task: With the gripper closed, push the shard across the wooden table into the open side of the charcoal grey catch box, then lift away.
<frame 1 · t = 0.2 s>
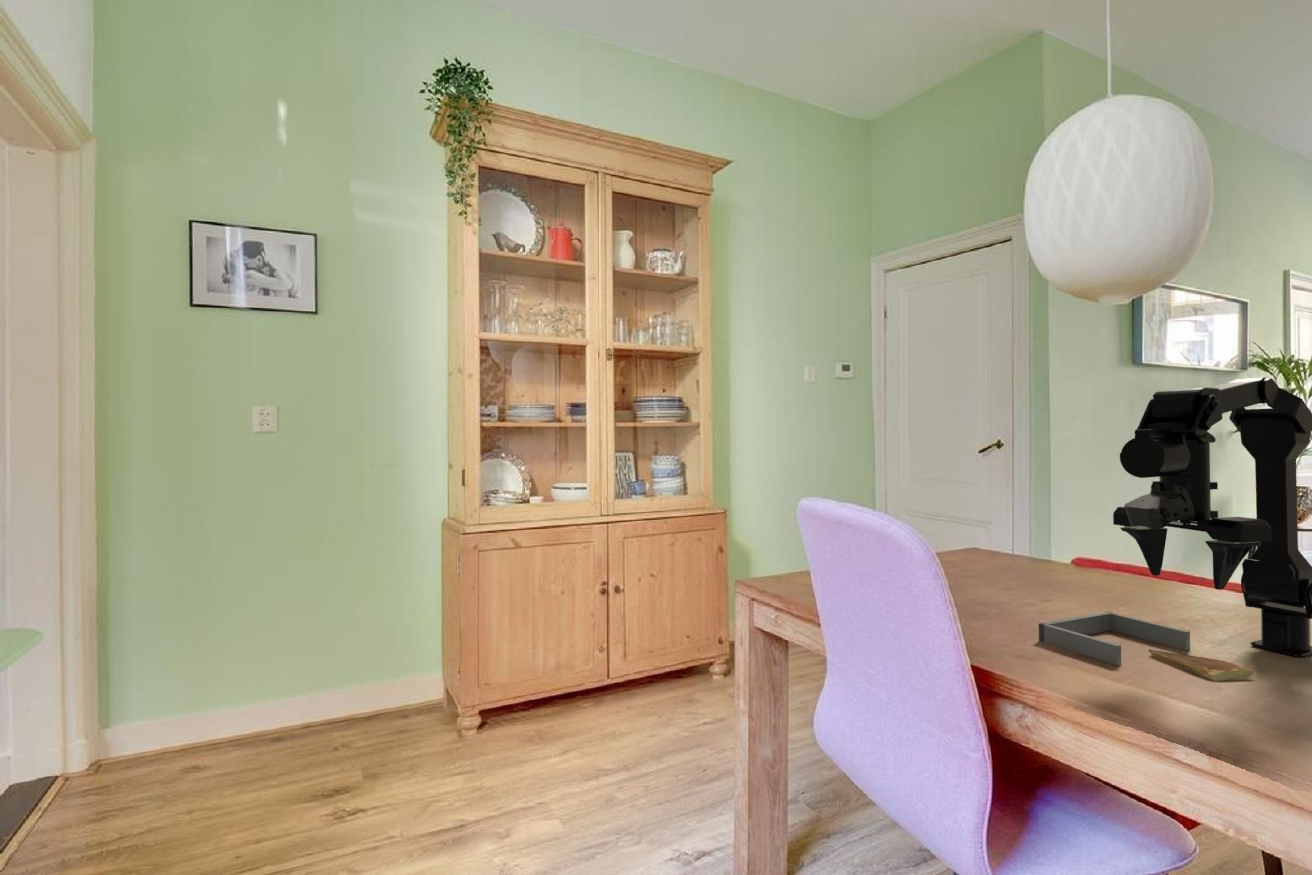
hand: (1185, 581, 94), 14 cm above the table, tool pointing down, fingers open, 9 cm apart
catch box: (1112, 645, 108), on the table
shard: (1198, 674, 97), on the table
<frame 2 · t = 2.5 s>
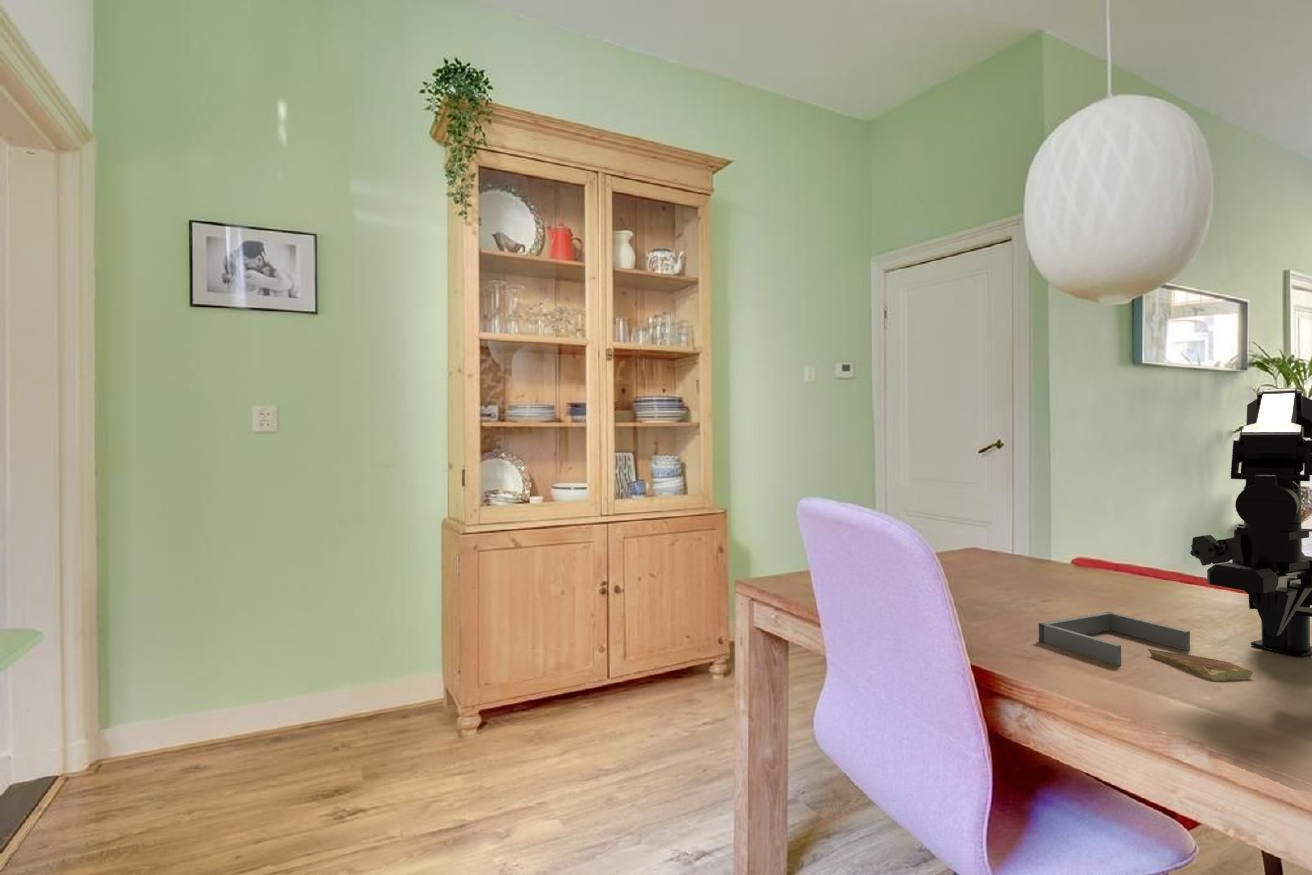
hand: (1273, 635, 88), 8 cm above the table, tool pointing down, fingers closed
nothing on the table moved.
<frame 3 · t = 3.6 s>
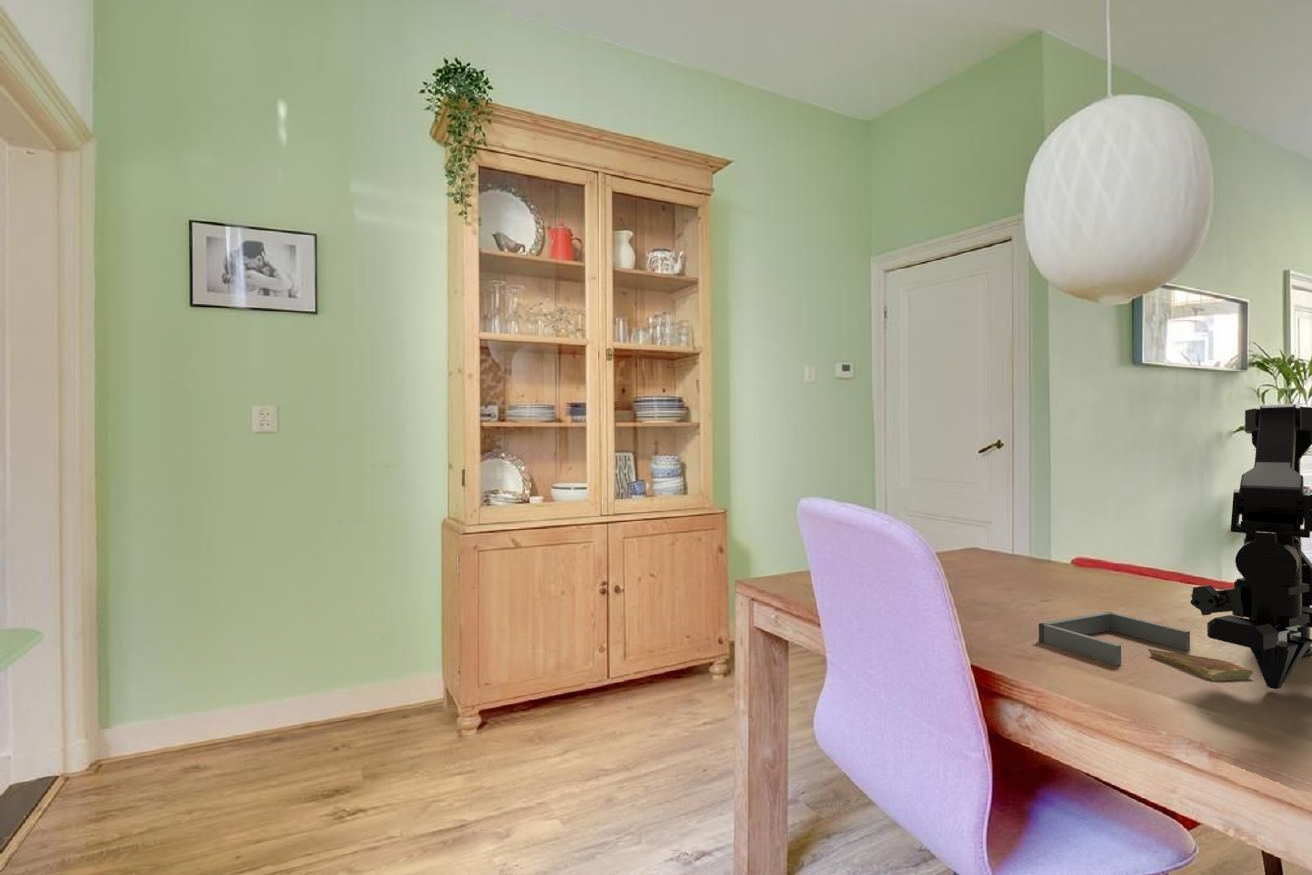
hand: (1273, 687, 88), 0 cm above the table, tool pointing down, fingers closed
nothing on the table moved.
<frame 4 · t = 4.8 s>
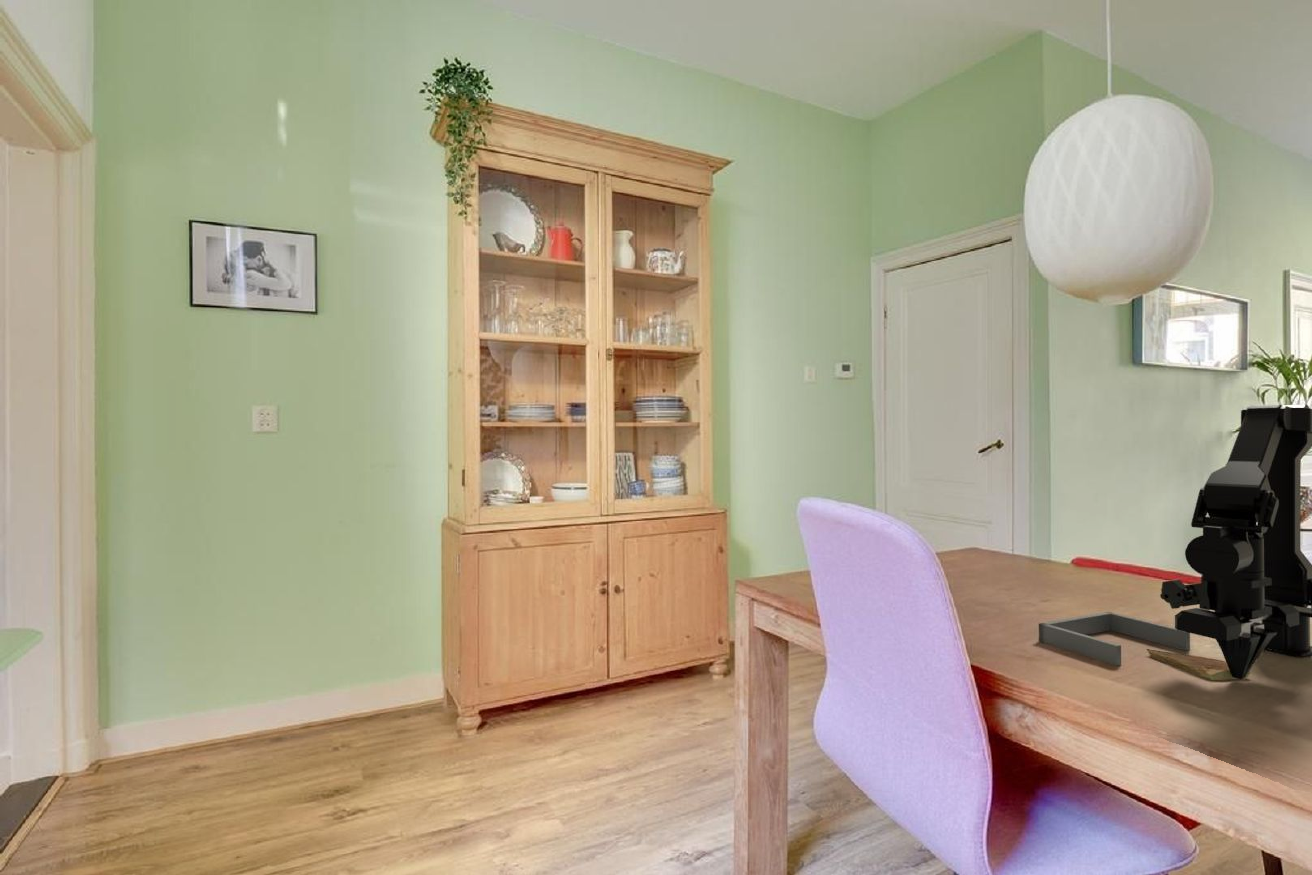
hand: (1238, 677, 92), 1 cm above the table, tool pointing down, fingers closed
shard: (1196, 674, 97), on the table, touching gripper
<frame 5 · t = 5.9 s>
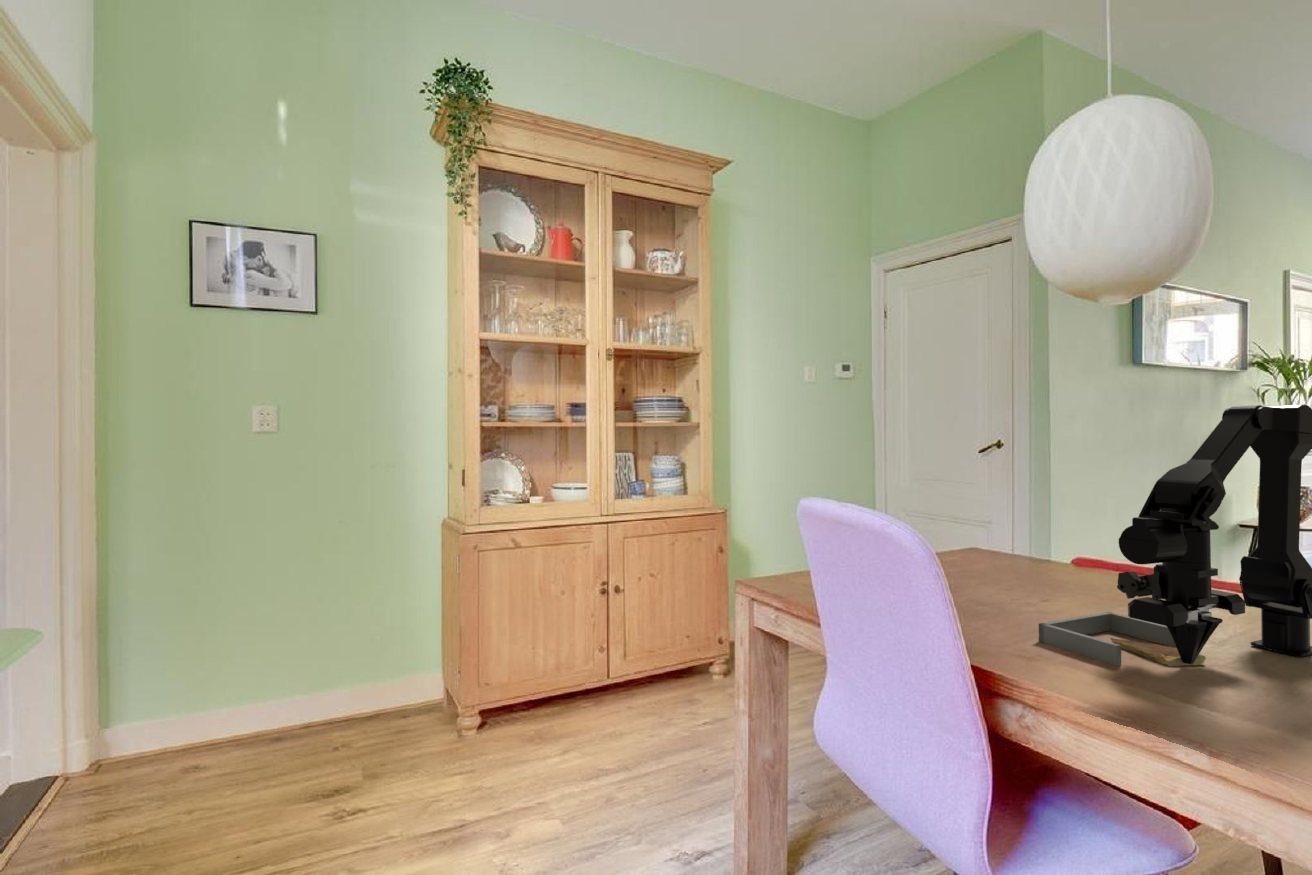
hand: (1187, 663, 98), 1 cm above the table, tool pointing down, fingers closed
shard: (1156, 661, 103), on the table, touching gripper
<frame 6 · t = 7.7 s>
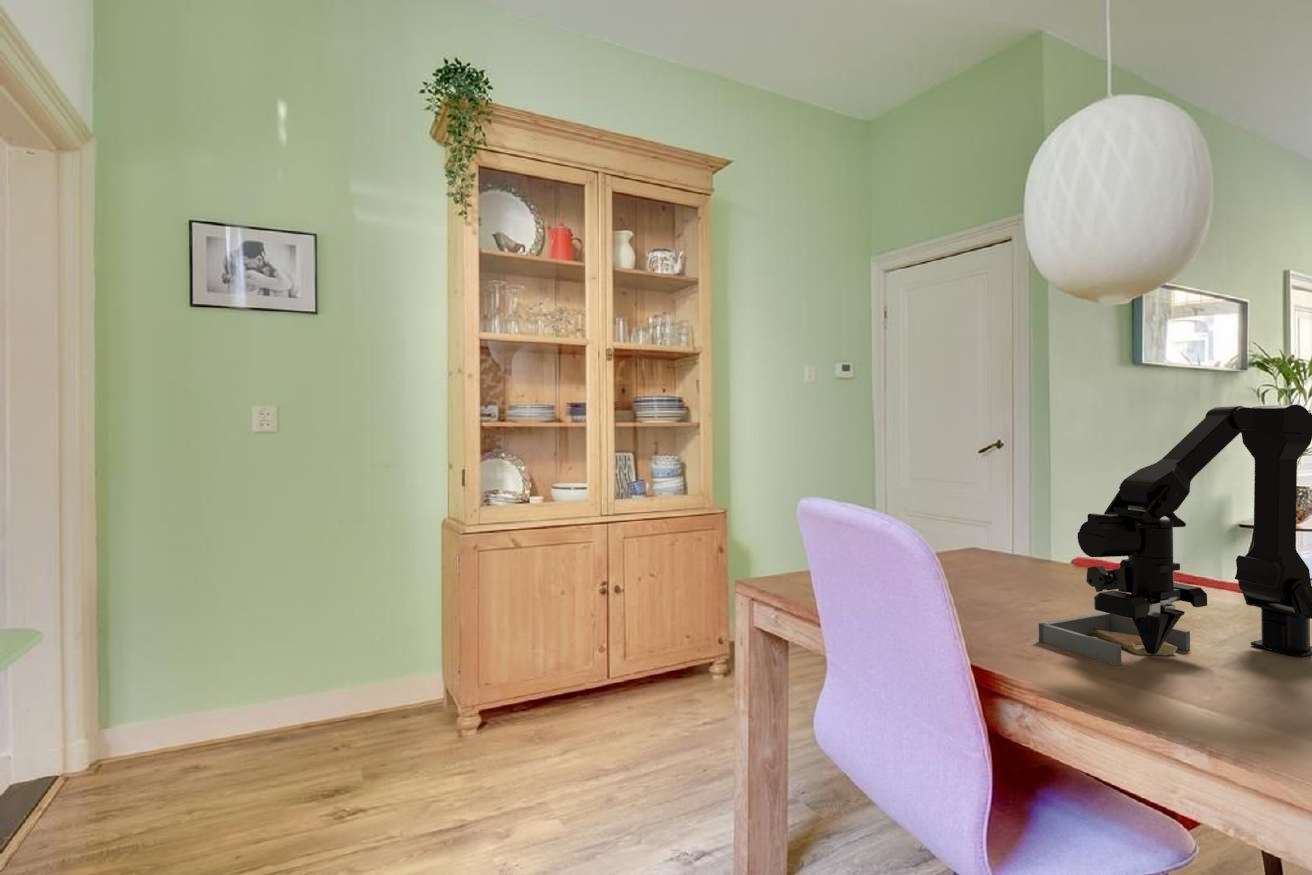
hand: (1151, 653, 103), 1 cm above the table, tool pointing down, fingers closed
shard: (1130, 650, 108), on the table
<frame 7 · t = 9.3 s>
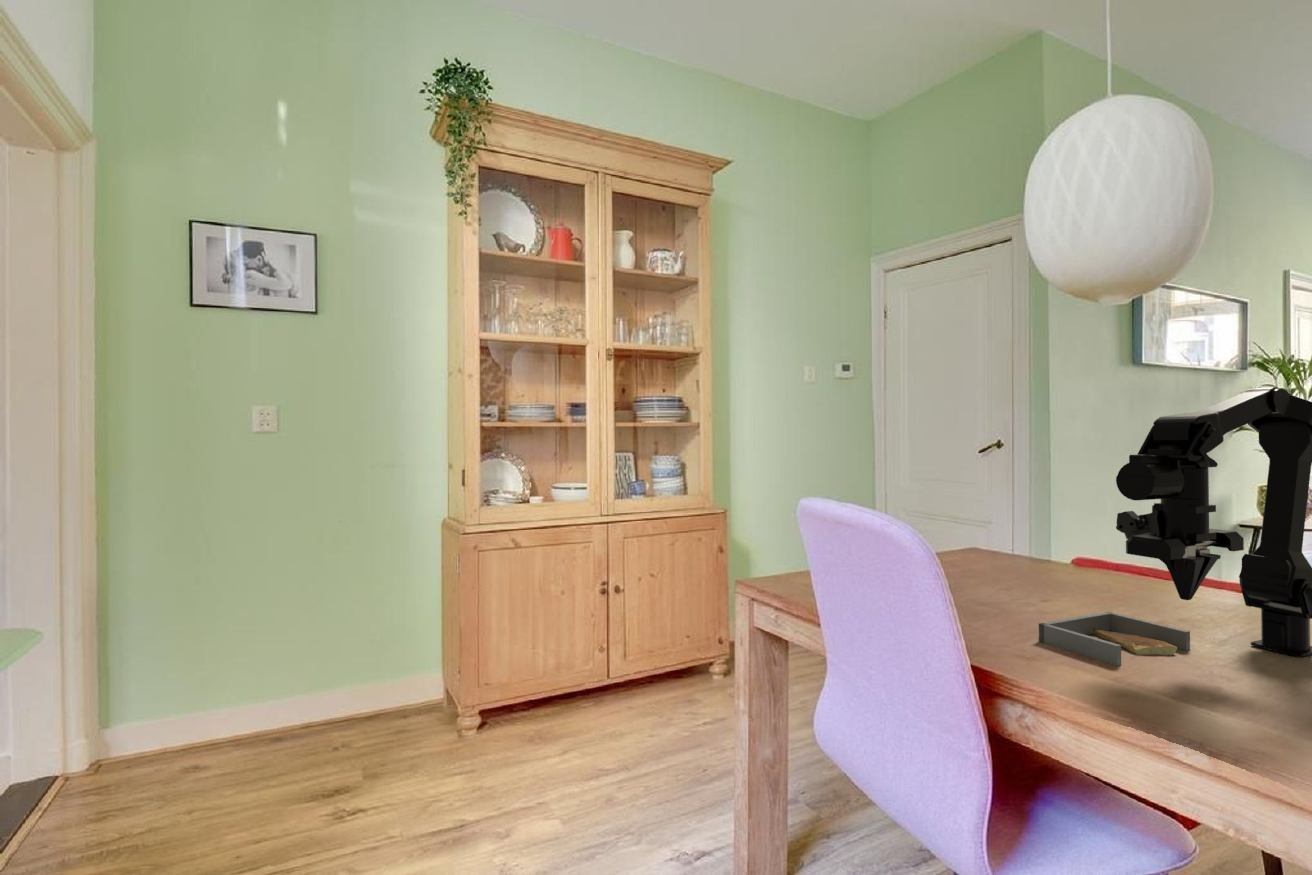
hand: (1185, 599, 99), 10 cm above the table, tool pointing down, fingers closed
nothing on the table moved.
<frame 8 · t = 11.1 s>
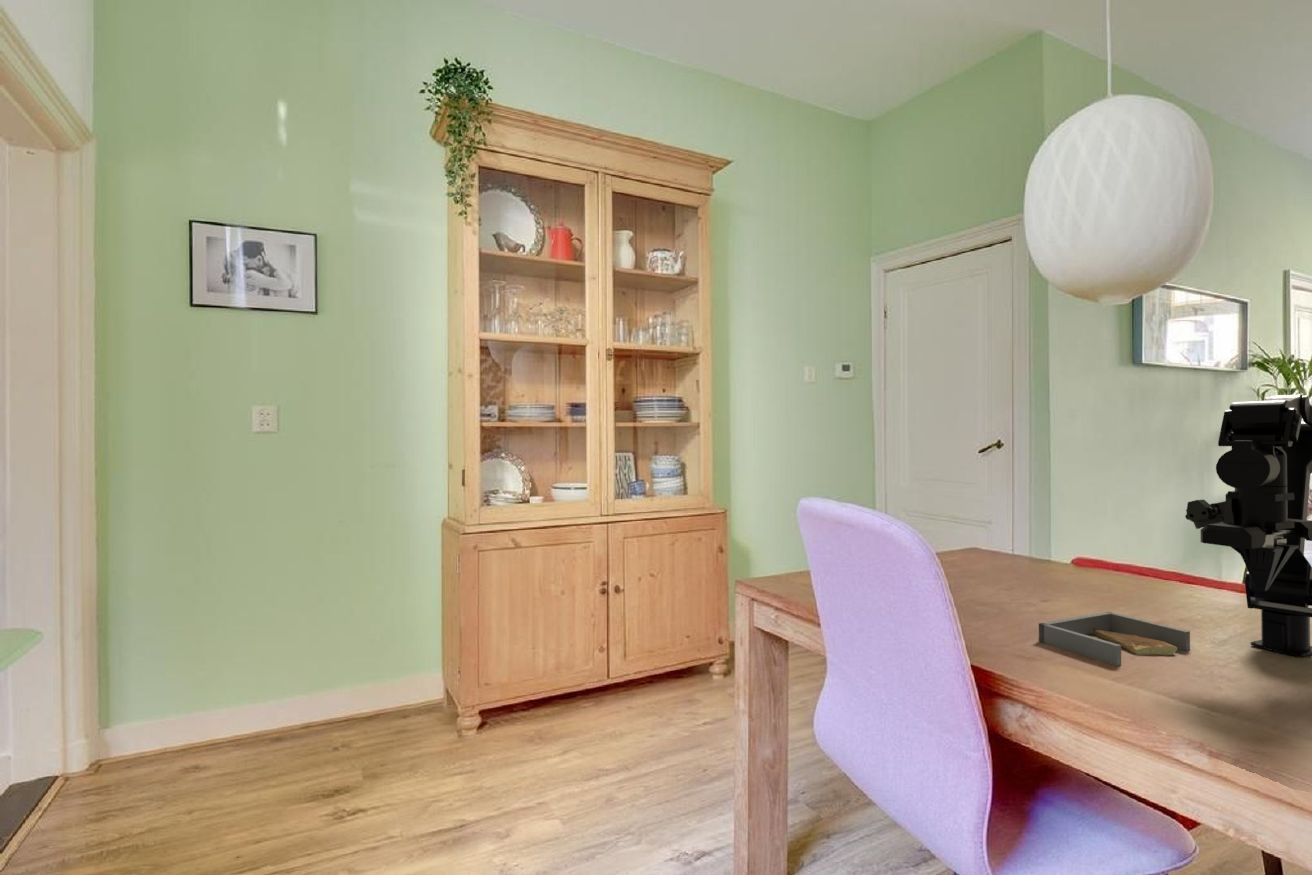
hand: (1261, 590, 96), 12 cm above the table, tool pointing down, fingers closed
nothing on the table moved.
at the end: shard inside the target area (3.1 cm from its centre), on the table; shard moved 11.2 cm from its start; shard tilted 0° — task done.
